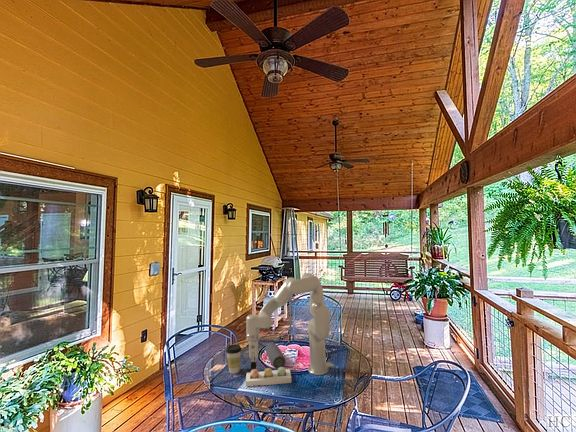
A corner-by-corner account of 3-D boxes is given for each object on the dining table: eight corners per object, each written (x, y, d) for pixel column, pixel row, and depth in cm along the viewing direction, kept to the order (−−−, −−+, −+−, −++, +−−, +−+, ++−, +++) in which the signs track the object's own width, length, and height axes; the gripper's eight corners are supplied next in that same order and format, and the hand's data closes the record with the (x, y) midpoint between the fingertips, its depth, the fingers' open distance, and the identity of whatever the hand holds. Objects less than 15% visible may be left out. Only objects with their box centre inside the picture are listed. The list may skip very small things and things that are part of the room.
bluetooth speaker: (264, 357, 208) (264, 342, 208) (277, 355, 210) (277, 340, 210) (272, 372, 186) (271, 356, 186) (286, 370, 188) (286, 354, 188)
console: (289, 373, 183) (289, 369, 183) (291, 382, 173) (291, 377, 173) (246, 377, 181) (246, 372, 181) (245, 386, 171) (245, 381, 171)
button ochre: (271, 372, 179) (271, 367, 180) (272, 376, 175) (272, 371, 175) (264, 373, 179) (264, 368, 179) (264, 377, 175) (264, 372, 175)
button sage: (285, 371, 180) (285, 366, 180) (285, 375, 176) (285, 370, 176) (278, 372, 180) (277, 367, 180) (278, 376, 175) (278, 370, 176)
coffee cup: (239, 375, 184) (238, 350, 184) (224, 374, 186) (223, 350, 186) (244, 367, 193) (243, 344, 194) (230, 367, 195) (229, 343, 196)
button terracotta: (258, 374, 179) (258, 368, 179) (258, 377, 174) (258, 372, 174) (251, 374, 178) (250, 369, 178) (250, 378, 174) (250, 373, 174)
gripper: (259, 341, 170) (260, 374, 169) (259, 331, 185) (260, 362, 184) (245, 342, 169) (246, 375, 169) (247, 332, 184) (247, 362, 183)
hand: (253, 368), depth 176 cm, fingers closed
